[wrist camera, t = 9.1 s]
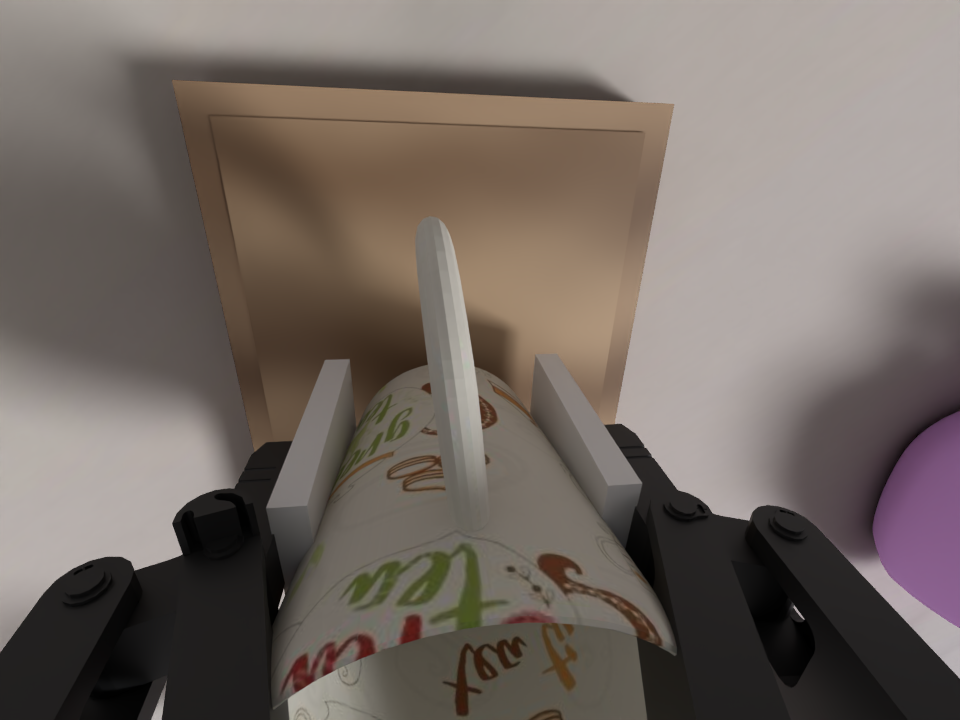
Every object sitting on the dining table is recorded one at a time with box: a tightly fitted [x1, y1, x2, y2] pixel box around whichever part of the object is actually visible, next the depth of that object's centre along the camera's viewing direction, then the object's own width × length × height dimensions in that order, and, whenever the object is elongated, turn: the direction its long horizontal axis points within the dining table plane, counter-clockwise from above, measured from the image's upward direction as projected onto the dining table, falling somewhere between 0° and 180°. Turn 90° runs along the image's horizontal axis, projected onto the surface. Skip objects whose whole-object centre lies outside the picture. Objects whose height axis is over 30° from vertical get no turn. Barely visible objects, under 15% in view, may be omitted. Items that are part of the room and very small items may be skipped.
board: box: [172, 80, 674, 452], centre depth 18 cm, size 18×14×2 cm
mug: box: [271, 216, 677, 720], centre depth 11 cm, size 8×13×10 cm, turn 5°
